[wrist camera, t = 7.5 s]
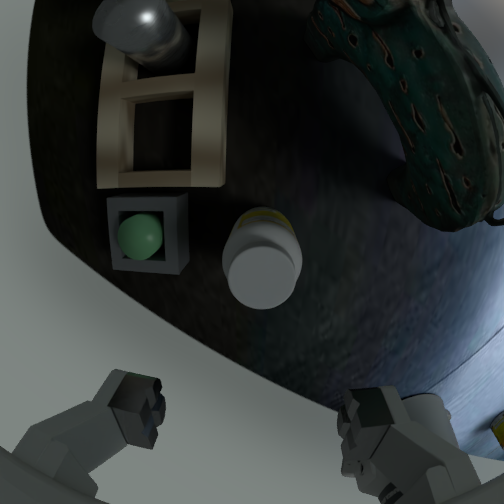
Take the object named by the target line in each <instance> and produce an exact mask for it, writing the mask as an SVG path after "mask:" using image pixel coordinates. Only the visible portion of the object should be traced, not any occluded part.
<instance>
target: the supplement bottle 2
mask: <svg viewBox="0 0 504 504" xmlns="http://www.w3.org/2000/svg"><path fill="white" fill-rule="evenodd" d="M491 430H492V432H493V433H494V435H495V437H496V438H497V440H498V442H499V444H500V445H501V447H502V449H503V450H504V412H502V413H501V414H500V415H498V416H497V417H496V418H495V419H494V421H493V422H492V424H491Z"/></svg>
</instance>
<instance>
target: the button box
mask: <svg viewBox="0 0 504 504" xmlns="http://www.w3.org/2000/svg"><path fill="white" fill-rule="evenodd" d="M136 211H164V238H165V248H159V249H158V250H157V251H156V252H155V253H154V254H153V255H151V256H150V257H149V258H147V259H145V260H134V259H132V258H130V257H128V256H127V255H126V254H125V253H124V252H123V251H122V249H121V248H120V246H119V243H118V230H119V227H120V225H121V224H122V223H123V221H125V220H126V219H128V218H130V217H132V216H134V215H136ZM107 213H108V226H109V238H110V248H111V257H112V265H113V269H115V270H126V271H138V272H151V273H164V274H178V275H179V274H180V273H181V271H182V270H183V268H184V267H185V266H186V264H187V263H188V262H189V228H188V192H143V193H123V194H119V195H116V196H112V197H109V198H107Z"/></svg>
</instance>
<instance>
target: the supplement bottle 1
mask: <svg viewBox="0 0 504 504" xmlns="http://www.w3.org/2000/svg"><path fill="white" fill-rule="evenodd" d="M222 265H223V270H224V273H225V275H226V278H227V279H228V285H229V288H230V290H231V292H232V294H233V295H234V296H235V298H236V299H237V300H238V301H240V302H241V303H242V304H244V305H246V306H248V307H251V308H255V309H269V308H273V307H275V306H278V305H280V304H281V303H283V302H284V301H285V300H286V299H287V298H288V297H289V296H290V295H291V293H292V292H293V289H294V287H295V283H296V280H297V278H298V276H299V274H300V271H301V267H302V254H301V249H300V246H299V243H298V241H297V238H296V236H295V233H294V231H293V228H292V226H291V224H290V222H289V221H288V219H287V218H286V217H285V216H284V215H283V214H282V213H280V212H279V211H277V210H275V209H272V208H269V207H257V208H253V209H250V210H248V211H246V212H245V213H244V214H242V215H241V216H240V217H239V218H238V220H237V221H236V223H235V225H234V227H233V229H232V231H231V233H230V236H229V238H228V240H227V242H226V245H225V247H224V251H223V256H222Z"/></svg>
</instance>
